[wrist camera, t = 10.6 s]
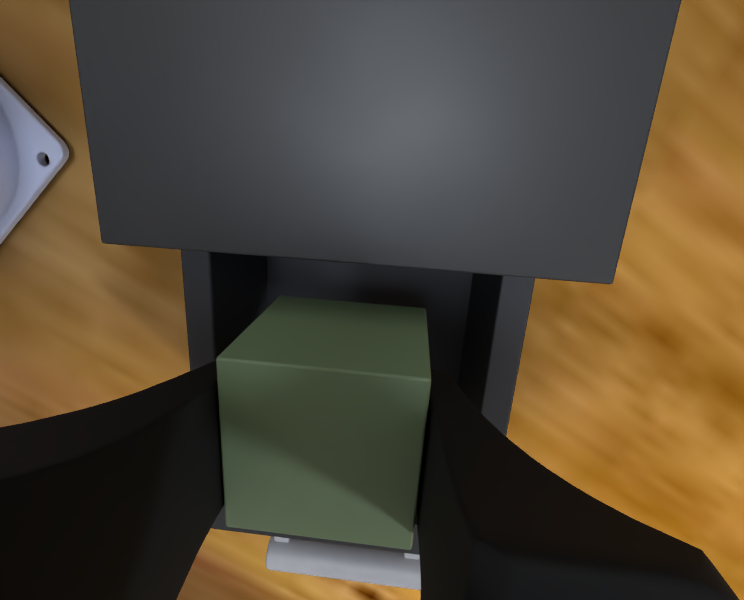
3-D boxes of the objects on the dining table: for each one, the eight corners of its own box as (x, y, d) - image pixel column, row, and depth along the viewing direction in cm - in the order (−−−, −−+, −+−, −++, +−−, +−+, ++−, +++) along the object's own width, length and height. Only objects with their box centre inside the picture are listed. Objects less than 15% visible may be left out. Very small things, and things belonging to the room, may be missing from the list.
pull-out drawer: (468, 522, 20) (488, 661, 14) (248, 495, 20) (186, 617, 15) (531, 137, 15) (601, 121, 9) (234, 120, 15) (133, 96, 10)
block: (412, 435, 13) (412, 551, 9) (280, 421, 13) (224, 527, 9) (426, 307, 11) (431, 379, 8) (279, 294, 12) (214, 357, 8)
